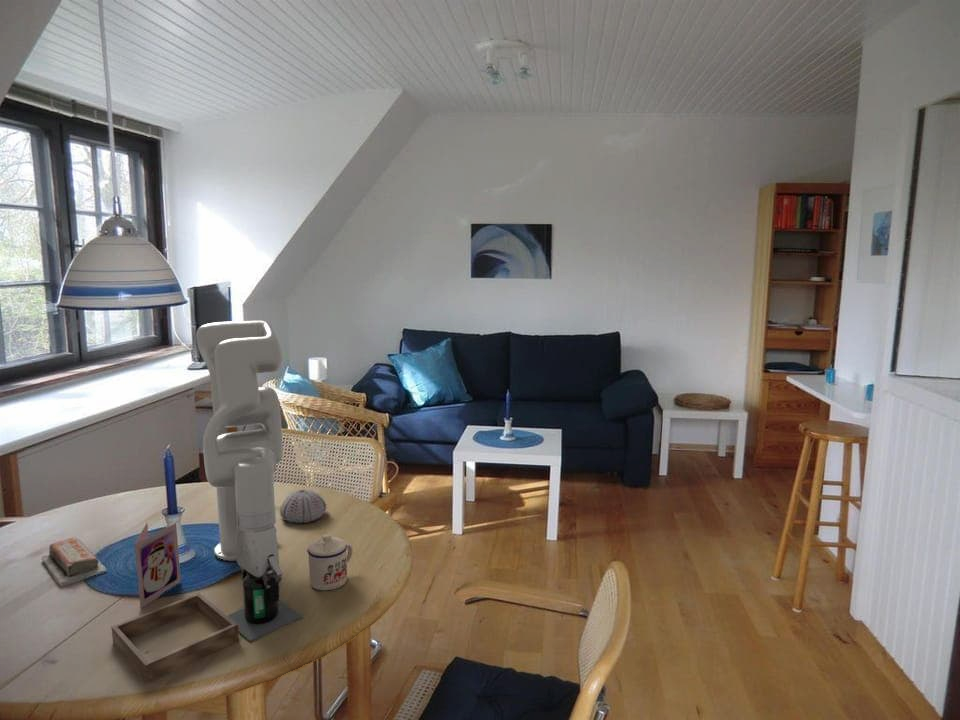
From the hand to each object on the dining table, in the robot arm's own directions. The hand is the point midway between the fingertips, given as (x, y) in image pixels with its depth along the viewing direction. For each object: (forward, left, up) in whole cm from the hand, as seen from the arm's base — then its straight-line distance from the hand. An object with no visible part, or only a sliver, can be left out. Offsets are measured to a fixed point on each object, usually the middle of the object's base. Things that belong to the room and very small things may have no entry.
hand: (261, 594), depth 138 cm
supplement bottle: (0, 0, -5) cm, 5 cm away
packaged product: (+20, -55, -6) cm, 59 cm away
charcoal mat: (0, 0, -6) cm, 6 cm away
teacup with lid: (-20, -3, -6) cm, 21 cm away
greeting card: (+12, -28, -6) cm, 31 cm away
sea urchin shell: (-35, -40, -6) cm, 53 cm away
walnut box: (+16, -5, -6) cm, 18 cm away
